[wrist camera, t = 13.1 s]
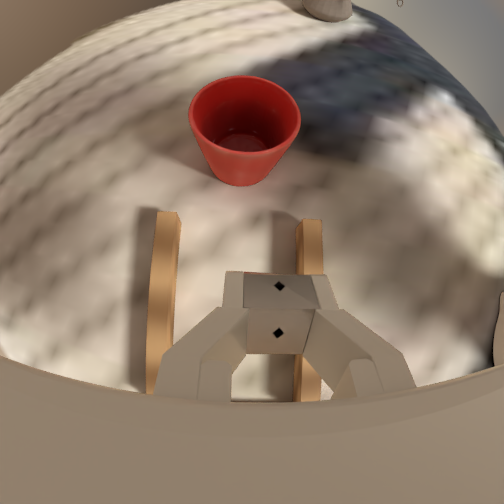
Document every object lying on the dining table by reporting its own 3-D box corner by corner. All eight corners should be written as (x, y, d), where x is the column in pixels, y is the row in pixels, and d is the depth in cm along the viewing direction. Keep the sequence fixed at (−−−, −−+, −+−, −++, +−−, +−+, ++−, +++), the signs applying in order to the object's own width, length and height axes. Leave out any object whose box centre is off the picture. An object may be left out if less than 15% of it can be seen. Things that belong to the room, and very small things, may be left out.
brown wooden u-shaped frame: (309, 417, 28) (318, 426, 25) (154, 412, 27) (146, 422, 24) (312, 230, 33) (321, 219, 30) (164, 222, 32) (157, 211, 29)
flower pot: (251, 217, 33) (260, 176, 24) (179, 167, 34) (165, 117, 25) (299, 156, 36) (320, 108, 26) (232, 115, 37) (234, 62, 27)
